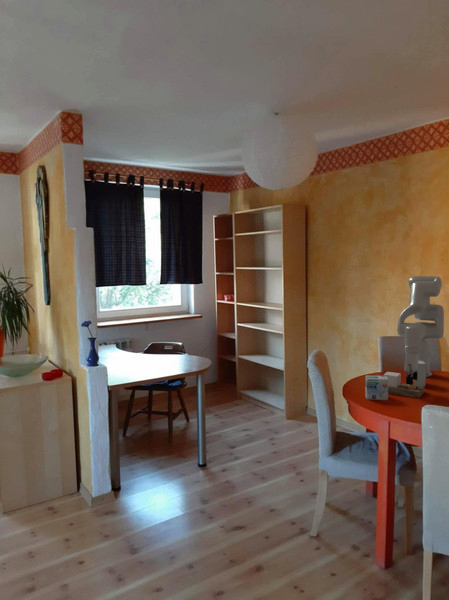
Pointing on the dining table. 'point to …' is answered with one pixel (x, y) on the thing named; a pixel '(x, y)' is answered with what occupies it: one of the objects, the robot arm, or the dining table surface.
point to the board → (406, 390)
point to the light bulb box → (376, 387)
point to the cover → (393, 379)
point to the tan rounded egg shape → (412, 385)
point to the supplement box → (421, 374)
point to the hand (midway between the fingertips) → (411, 382)
